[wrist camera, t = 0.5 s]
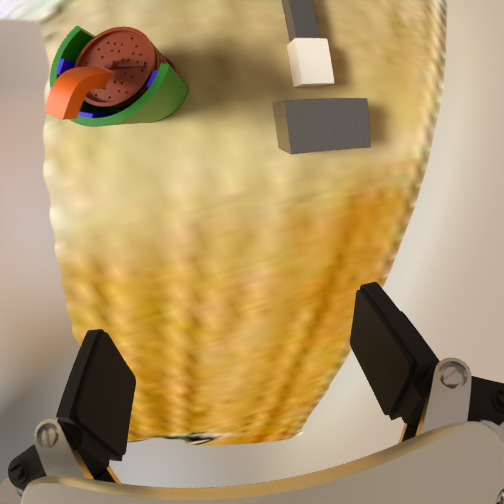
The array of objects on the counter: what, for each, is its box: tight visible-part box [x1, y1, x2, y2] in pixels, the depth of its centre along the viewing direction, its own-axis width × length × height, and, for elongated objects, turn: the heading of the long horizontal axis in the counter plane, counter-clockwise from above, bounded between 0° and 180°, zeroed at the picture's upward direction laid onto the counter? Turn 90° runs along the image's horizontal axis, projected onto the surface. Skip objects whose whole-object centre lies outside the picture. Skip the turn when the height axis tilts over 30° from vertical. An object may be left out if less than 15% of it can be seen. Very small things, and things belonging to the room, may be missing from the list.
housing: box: [273, 98, 371, 154], centre depth 30 cm, size 6×10×6 cm, turn 98°
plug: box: [282, 0, 334, 87], centre depth 24 cm, size 22×4×4 cm, turn 8°
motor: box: [44, 26, 189, 127], centre depth 20 cm, size 10×9×20 cm
